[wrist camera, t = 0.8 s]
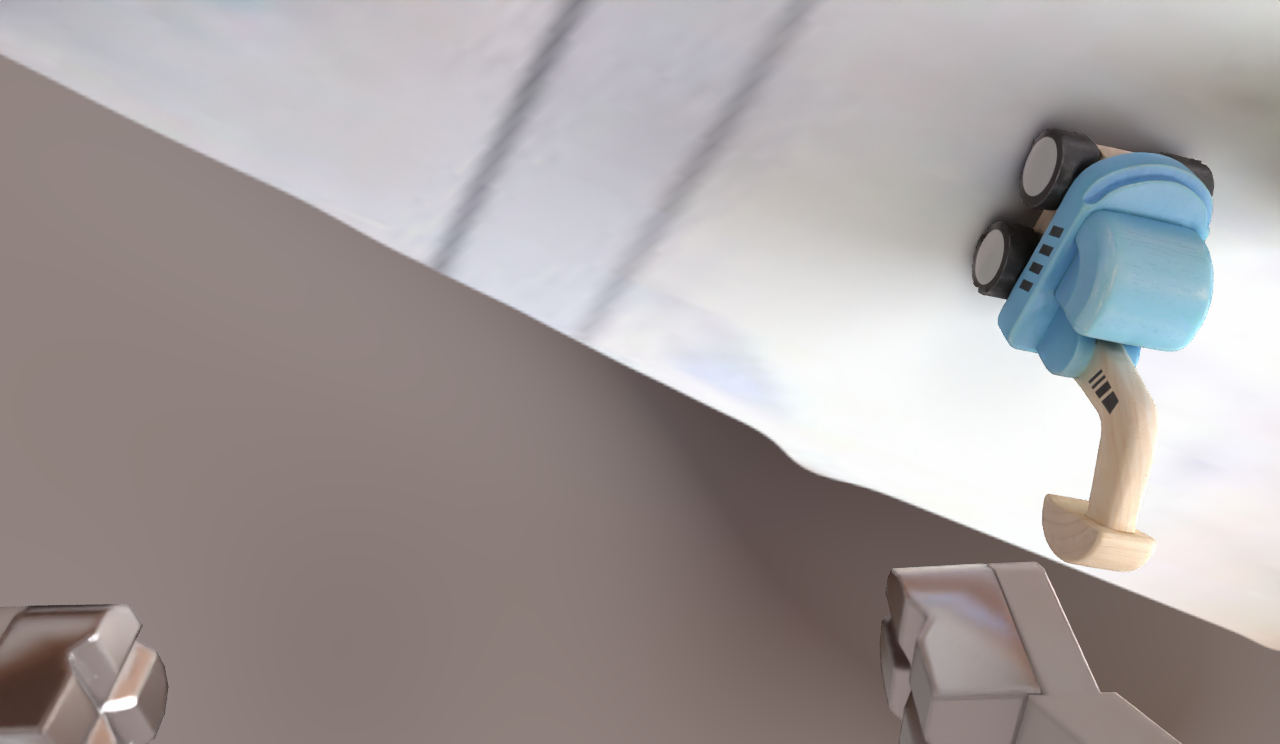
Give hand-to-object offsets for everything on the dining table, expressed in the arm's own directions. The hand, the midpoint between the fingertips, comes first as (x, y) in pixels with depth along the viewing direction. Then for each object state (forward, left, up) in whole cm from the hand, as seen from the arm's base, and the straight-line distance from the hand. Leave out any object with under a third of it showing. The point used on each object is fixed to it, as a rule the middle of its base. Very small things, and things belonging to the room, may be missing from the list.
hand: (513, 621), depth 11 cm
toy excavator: (+20, +24, -42) cm, 52 cm away
